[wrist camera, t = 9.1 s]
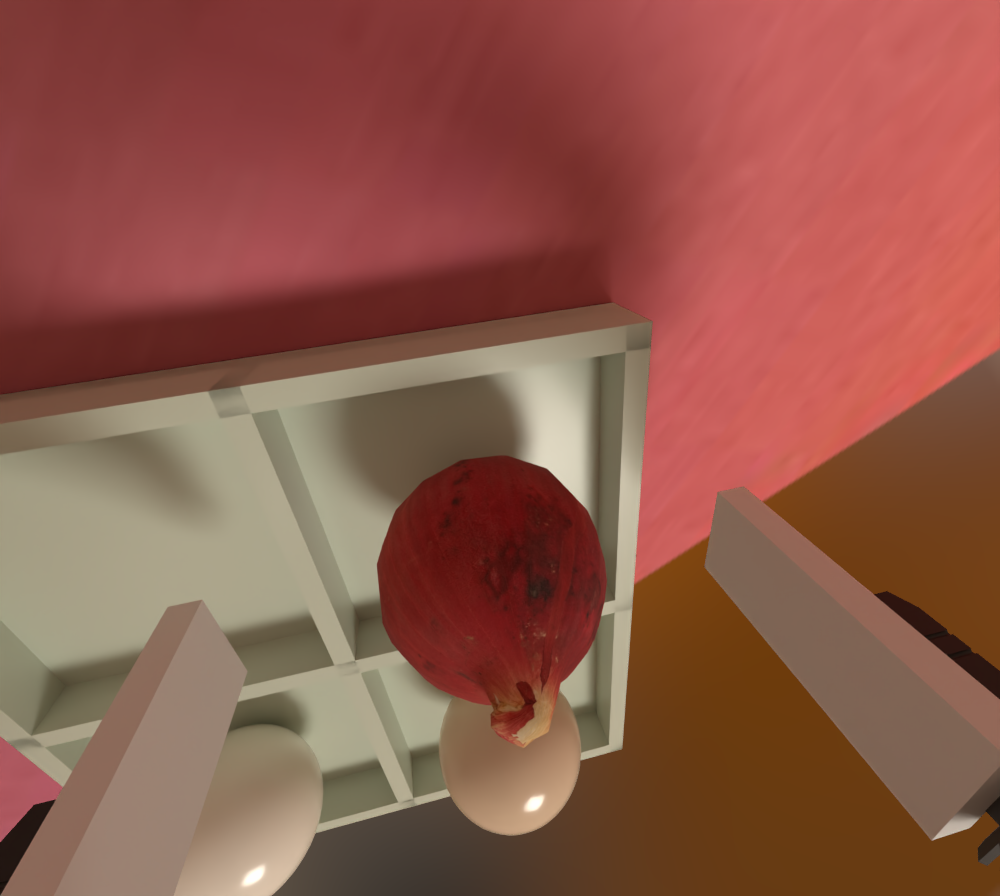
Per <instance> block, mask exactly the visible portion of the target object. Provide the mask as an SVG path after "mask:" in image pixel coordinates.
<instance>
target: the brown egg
mask: <svg viewBox="0 0 1000 896" xmlns="http://www.w3.org/2000/svg"><path fill="white" fill-rule="evenodd" d="M493 711H494V709H493V707H492V705H482V704H477V703H472V702H469V701H467V700H464V699H461V698H458V697H455V696H454V697H453V698H452V700H451V702H450V703H449V706H448V708H447V710H446V712H445V715H444V718H443V722H442V726H441V730H440V737H439V760H440V767H441V772H442V775H443V779H444V782H445V785H446V787H447V790H448V792H449V794H450V796H451V797H452V799H453V801H454V802H455V804H456V805H457V806H458V808H459V809H460V810H461V811H462V813H463V814H464V815H465V816H466V817H467V818H469V819H470V820H471V821H472V822H474V823H475V824H477V825H478V826H480V827H481V828H483V829H485V830H488V831H490V832H493V833H497V834H503V835H519V834H524V833H528V832H531V831H534V830H536V829H538V828H540V827H542V826H544V825H545V824H547V823H548V822H549V821H550V820H551V819H553V818H554V817H555V816H556V815H557V814H558V813H559V812H560V810H561V809H562V808H563V807H564V805H565V804H566V802H567V800H568V799H569V797H570V795H571V793H572V791H573V789H574V786H575V783H576V780H577V777H578V773H579V769H580V759H581V741H580V734H579V728H578V724H577V721H576V718H575V715H574V713H573V710H572V708H571V706H570V704H569V702H568V700H567V699H566V697H565V696H564V694H563V693H562V692H561V690H560V689H559V693H558V697H557V701H556V705H555V708H554V711H553V715H552V719H551V723H550V727H549V731H548V733H546V734H544V735H542V736H540V737H538V738H536V739H534V740H533V741H532V742H531V743H529V744H528V745H527V746H526V747H524V748H523V747H520V746H517V745H515V744H512V743H510V742H508V741H506V740H505V739H503V738H501V737H499V736H498V735H497V734H496V733H495V732H494V730H493V729H492V728H491V713H492V712H493Z"/></svg>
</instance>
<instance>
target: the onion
mask: <svg viewBox="0 0 1000 896" xmlns="http://www.w3.org/2000/svg"><path fill="white" fill-rule="evenodd" d="M377 574H378V584H379V594H380V604H381V613H382V623H383V626H384V628H385V630H386V632H387V634H388V636H389V638H390V641H391V643H392V644H393V645H394V646H395V647H396V649H397V650H398V651H399V652H400V653H401V655H402V656H403V657H404V658H405V659H406V660H407V661H408V662H409V663H410V664H411V665H412V666H413V667H414V668H415V669H416V670H417V671H418V673H419V674H420V675H421V676H422V677H423V678H424V679H425V680H426V681H428V682H429V683H431V684H432V685H433V686H435V687H436V688H438V689H439V690H442V691H444V692H446V693H448V694H450V695H453V696H455V697H458V698H461V699H464V700H467V701H469V702H472V703H477V704H482V705H492V707H493V709H494V711H493V712H492V713H491V728H492V729H493V730H494V732H495V733H496V734H497V735H498V736H499V737H501V738H503V739H505V740H506V741H508V742H510V743H512V744H515V745H517V746H520V747H523V748H524V747H526V746H527V745H528V744H529V743H531V742H532V741H533V740H534V739H536V738H538V737H540V736H542V735H544V734H546V733H548V731H549V727H550V723H551V719H552V715H553V711H554V708H555V705H556V701H557V697H558V693H559V688H560V684H561V682H563V681H564V680H565V679H567V678H568V677H569V675H570V674H571V673H572V672H573V671H574V670H575V668H576V667H577V666H578V665H579V663H580V662H581V661H582V659H583V658H584V657H585V655H586V654H587V653H588V651H589V649H590V647H591V645H592V643H593V641H594V639H595V636H596V633H597V630H598V627H599V624H600V619H601V615H602V610H603V606H604V602H605V594H606V585H607V577H606V567H605V560H604V556H603V553H602V549H601V545H600V542H599V538H598V534H597V530H596V528H595V526H594V524H593V521H592V519H591V517H590V515H589V513H588V511H587V509H586V508H585V507H584V506H583V505H582V504H581V503H580V502H579V501H578V500H577V499H576V498H575V497H574V495H573V494H572V493H571V492H570V491H569V490H568V489H567V488H566V487H565V486H564V485H563V484H562V483H561V482H560V481H559V480H558V479H557V478H556V477H555V476H554V475H553V474H552V473H551V472H550V471H549V470H548V469H547V468H544V467H541V466H538V465H535V464H532V463H529V462H526V461H523V460H520V459H517V458H514V457H510V456H507V455H497V456H489V457H481V458H473V459H464V460H460V461H458V462H456V463H455V464H453V465H451V466H449V467H447V468H445V469H444V470H442V471H440V472H438V473H436V474H434V475H433V476H431V477H429V478H427V479H425V480H424V481H422V482H421V483H420V484H419V485H418V487H417V488H416V489H415V490H414V491H413V492H412V493H411V494H410V495H409V496H408V497H407V498H406V499H405V500H404V502H403V503H402V504H401V505H400V506H399V507H398V508H397V509H396V510H395V513H394V515H393V518H392V520H391V523H390V525H389V528H388V531H387V534H386V537H385V539H384V542H383V545H382V548H381V552H380V555H379V558H378V562H377Z"/></svg>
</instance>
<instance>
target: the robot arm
mask: <svg viewBox="0 0 1000 896" xmlns="http://www.w3.org/2000/svg"><path fill="white" fill-rule="evenodd" d="M705 568H706V569H707V570H708V572H709V573H710V574H711V575H712V576H713V578H714V579H715V580H716V581H717V582H718V583H719V585H720V586H721V587H722V588H723V590H724V591H725V592H726V593H727V594H728V596H729V597H730V598H731V599H732V600H733V602H734V603H735V604H736V605H737V606H738V608H739V609H740V610H741V611H742V613H743V614H744V615H745V616H746V617H747V619H748V620H749V621H750V622H751V623H752V625H753V626H754V627H755V628H756V629H757V631H758V632H759V633H760V634H761V635H762V637H763V638H764V639H765V640H766V641H767V643H768V644H769V645H770V646H771V647H772V649H773V650H774V651H775V652H776V654H778V656H779V657H780V658H781V660H782V661H783V662H784V663H785V664H786V666H787V667H788V668H789V669H790V670H791V672H792V673H793V674H794V675H795V676H796V677H797V679H798V680H799V681H800V682H801V684H802V685H803V686H804V687H805V688H806V690H807V691H808V692H809V693H810V695H811V696H812V697H813V698H814V699H815V700H816V702H817V703H818V704H819V705H820V707H821V708H822V709H823V710H824V711H825V713H826V714H827V715H828V716H829V717H830V718H831V720H832V721H833V722H834V723H835V725H836V726H837V727H838V728H839V729H840V730H841V732H842V733H843V734H844V735H845V737H846V738H847V739H848V740H849V742H850V743H851V744H852V745H853V746H854V748H855V749H856V750H857V751H858V752H859V753H860V755H861V756H862V757H863V758H864V759H865V761H866V762H867V763H868V764H869V766H870V767H871V768H872V769H873V770H874V772H875V773H876V774H877V775H878V776H879V778H880V779H881V780H882V781H883V782H884V784H885V785H886V786H887V787H888V788H889V790H890V791H891V792H892V793H893V794H894V796H895V797H896V798H897V799H898V801H899V802H900V803H901V804H902V805H903V807H904V808H905V809H906V810H907V811H908V812H909V814H910V815H911V816H912V817H913V819H914V820H915V821H916V822H917V823H918V824H919V826H920V827H921V828H922V829H923V831H924V832H925V833H926V834H927V835H928V837H929V838H930V839H931V840H934V839H937V838H941V837H944V836H946V835H950V834H953V833H956V832H959V831H962V830H965V829H968V828H970V827H971V826H972V825H973V824H974V823H975V822H976V821H977V820H978V819H979V818H980V817H981V816H982V815H983V814H984V813H985V812H987V813H988V814H989V815H990V816H991V817H992V818H993V819H994V820H995V821H996V822H997V823H998V824H999V827H998V828H997V829H996V830H995V831H994V832H992V833H991V834H990V836H988V837H987V838H986V839H985V840H984V841H983V842H982V844H981V845H980V846H979V847H978V862H980V863H983V864H985V865H988V864H990V863H991V862H992V861H993V860H994V859H995V858H996V857H998V856H999V855H1000V671H999V670H998V669H996V668H995V667H994V666H992V665H991V664H990V663H989V662H988V661H986V660H985V659H984V658H982V657H981V656H980V655H979V654H977V653H976V654H975V653H973V652H972V651H971V648H970V647H969V646H967V645H966V644H965V643H963V642H962V641H961V640H959V639H958V638H957V637H956V636H954V635H953V634H952V635H950V634H949V633H948V632H947V629H946V628H944V627H943V626H942V625H940V624H939V623H938V622H936V621H935V620H934V619H933V618H931V617H930V616H929V615H928V614H926V613H925V612H924V611H922V610H921V609H920V608H919V607H916V606H915V605H913V604H911V603H909V602H907V601H904V600H903V599H901V598H899V597H897V596H895V595H893V594H891V593H889V592H887V591H886V592H883V593H878V594H872V593H871V592H870V591H869V590H868V589H866V588H865V587H864V586H863V585H862V584H860V583H859V582H858V581H857V580H856V579H854V578H853V577H852V576H851V575H849V574H848V573H847V572H846V571H845V570H843V569H842V568H841V567H840V566H839V565H837V564H836V563H835V562H834V561H833V560H831V559H830V558H829V557H828V556H827V555H825V554H824V553H823V552H822V551H821V550H819V549H818V548H817V547H816V546H815V545H813V544H812V543H811V542H810V541H809V540H807V539H806V538H805V537H804V536H803V535H801V534H800V533H799V532H798V531H797V530H795V529H794V528H793V527H792V526H790V525H789V524H788V523H787V522H786V521H785V520H783V519H782V518H781V517H780V516H778V515H777V514H776V513H775V512H774V511H773V510H771V509H770V508H769V507H768V506H767V505H765V504H764V503H763V502H762V501H761V500H759V499H758V498H757V497H756V496H755V495H753V494H752V493H751V492H750V491H749V490H747V489H746V488H745V487H739V488H735V489H730V490H725V491H720V492H718V494H717V499H716V505H715V510H714V516H713V522H712V527H711V533H710V538H709V544H708V550H707V555H706V561H705ZM247 672H248V671H247V670H246V668H245V666H244V665H243V663H242V662H241V660H240V659H239V657H238V655H237V654H236V652H235V651H234V649H233V647H232V646H231V644H230V643H229V641H228V639H227V638H226V636H225V635H224V633H223V632H222V630H221V628H220V627H219V625H218V624H217V622H216V620H215V619H214V617H213V616H212V614H211V612H210V611H209V609H208V608H207V606H206V604H205V603H204V601H203V600H198V601H193V602H188V603H184V604H179V605H174V606H169V607H167V609H166V611H165V612H164V614H163V616H162V617H161V619H160V621H159V623H158V624H157V626H156V628H155V630H154V631H153V633H152V635H151V636H150V638H149V640H148V642H147V643H146V645H145V647H144V649H143V650H142V652H141V654H140V655H139V657H138V659H137V661H136V662H135V664H134V666H133V668H132V669H131V671H130V673H129V674H128V676H127V678H126V680H125V681H124V683H123V685H122V686H121V688H120V690H119V692H118V693H117V695H116V697H115V699H114V700H113V702H112V704H111V705H110V707H109V709H108V711H107V712H106V714H105V716H104V718H103V719H102V721H101V723H100V724H99V726H98V728H97V730H96V731H95V733H94V735H93V737H92V738H91V740H90V742H89V743H88V745H87V747H86V749H85V750H84V752H83V754H82V756H81V757H80V759H79V761H78V762H77V764H76V766H75V768H74V769H73V771H72V773H71V775H70V776H69V778H68V780H67V781H66V783H65V785H64V787H63V788H62V790H61V792H60V794H59V795H58V797H57V799H56V800H52V801H48V802H44V803H40V804H36V805H34V806H33V807H32V808H31V809H30V810H29V811H28V812H27V813H26V815H25V816H24V817H23V818H22V819H21V820H20V821H19V822H18V823H17V825H16V826H15V827H14V828H13V829H12V830H11V831H10V832H9V833H8V835H7V836H6V837H5V838H4V839H3V840H2V841H1V842H0V896H174V893H175V890H176V887H177V884H178V881H179V878H180V875H181V872H182V869H183V866H184V863H185V860H186V857H187V854H188V851H189V848H190V845H191V842H192V839H193V836H194V833H195V830H196V826H197V823H198V820H199V817H200V814H201V811H202V808H203V805H204V802H205V799H206V796H207V793H208V790H209V787H210V784H211V781H212V778H213V775H214V772H215V769H216V766H217V763H218V760H219V757H220V754H221V751H222V747H223V744H224V741H225V738H226V735H227V732H228V729H229V726H230V723H231V720H232V717H233V714H234V711H235V708H236V705H237V702H238V699H239V696H240V693H241V690H242V687H243V684H244V681H245V678H246V675H247Z"/></svg>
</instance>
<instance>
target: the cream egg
mask: <svg viewBox="0 0 1000 896" xmlns="http://www.w3.org/2000/svg"><path fill="white" fill-rule="evenodd" d="M322 803H323V779H322V774H321V769H320V765H319V763H318V760H317V757H316V755H315V754H314V752H313V750H312V748H311V747H310V746H309V744H308V743H307V742H306V741H305V740H304V739H303V738H302V737H301V736H299V735H298V734H296V733H295V732H293V731H292V730H290V729H287V728H284V727H281V726H278V725H272V724H255V725H249V726H244V727H240V728H237V729H234V730H232V731H230V732H227V735H226V738H225V741H224V744H223V747H222V751H221V754H220V757H219V760H218V763H217V766H216V769H215V772H214V775H213V778H212V781H211V784H210V787H209V790H208V793H207V796H206V799H205V802H204V805H203V808H202V811H201V814H200V817H199V820H198V823H197V826H196V830H195V833H194V836H193V839H192V842H191V845H190V848H189V851H188V854H187V857H186V860H185V863H184V866H183V869H182V872H181V875H180V878H179V881H178V884H177V887H176V890H175V893H174V896H271V895H273V894H274V893H275V892H276V891H277V890H278V889H279V888H280V887H281V886H282V885H283V884H284V883H285V882H286V881H287V879H288V878H289V877H290V876H291V875H292V874H293V872H294V871H295V870H296V868H297V867H298V865H299V864H300V862H301V861H302V859H303V858H304V856H305V854H306V852H307V850H308V848H309V847H310V844H311V842H312V840H313V837H314V835H315V832H316V830H317V826H318V823H319V820H320V816H321V810H322Z"/></svg>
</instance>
